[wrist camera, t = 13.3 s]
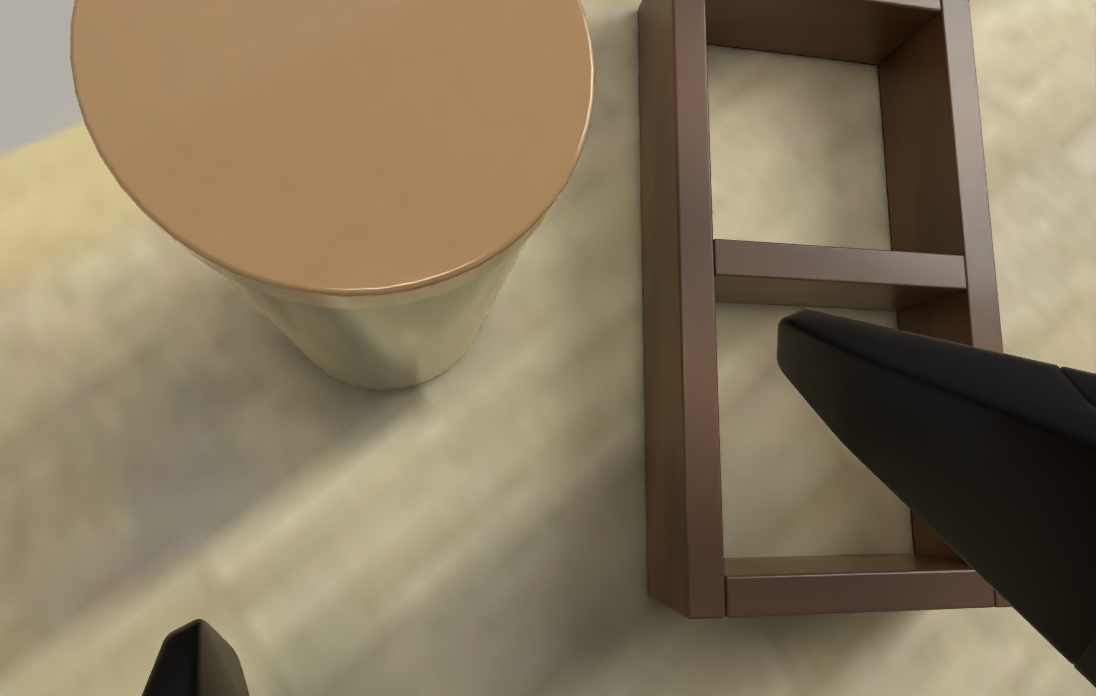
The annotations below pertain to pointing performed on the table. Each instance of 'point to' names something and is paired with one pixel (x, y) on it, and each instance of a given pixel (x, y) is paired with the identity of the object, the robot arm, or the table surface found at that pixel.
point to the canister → (344, 155)
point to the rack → (802, 282)
